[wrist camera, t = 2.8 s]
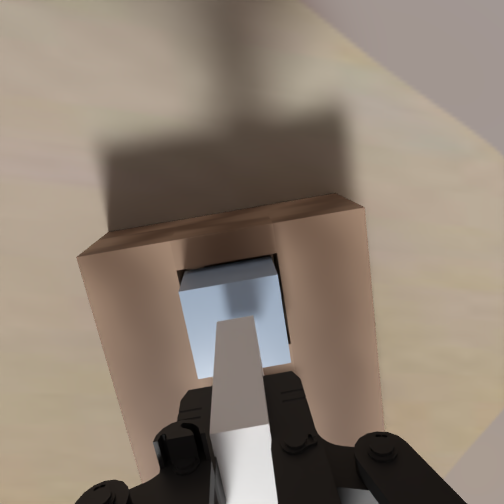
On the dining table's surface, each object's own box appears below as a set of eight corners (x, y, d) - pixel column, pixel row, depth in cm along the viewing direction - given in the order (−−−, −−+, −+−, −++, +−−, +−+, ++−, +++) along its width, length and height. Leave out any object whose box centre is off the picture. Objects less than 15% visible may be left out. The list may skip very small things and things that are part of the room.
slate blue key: (201, 347, 22) (198, 379, 19) (185, 270, 21) (178, 291, 18) (282, 333, 22) (291, 362, 19) (270, 255, 21) (277, 274, 18)
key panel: (188, 535, 31) (180, 616, 26) (107, 232, 25) (76, 257, 20) (368, 502, 32) (397, 575, 26) (335, 193, 25) (364, 207, 20)
